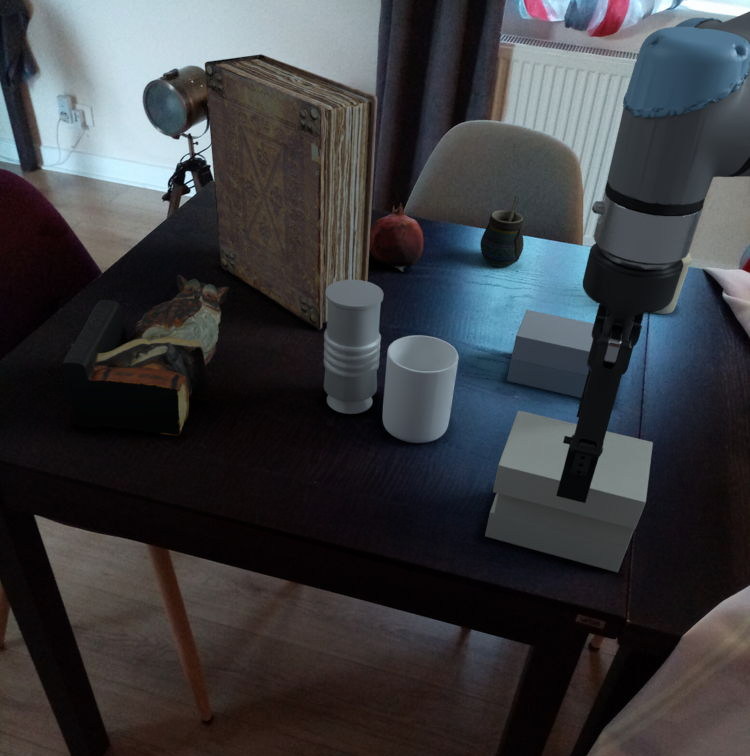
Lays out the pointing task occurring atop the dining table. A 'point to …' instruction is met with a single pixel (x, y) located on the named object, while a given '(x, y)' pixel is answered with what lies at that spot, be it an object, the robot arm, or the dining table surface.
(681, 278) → the cream cylinder
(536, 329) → the grey stack
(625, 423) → the dining table surface
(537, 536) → the white stack
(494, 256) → the mate gourd
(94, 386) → the bookend
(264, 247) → the book
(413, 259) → the fruit
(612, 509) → the white box lid
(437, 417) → the mug
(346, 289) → the grey ribbed cylinder
